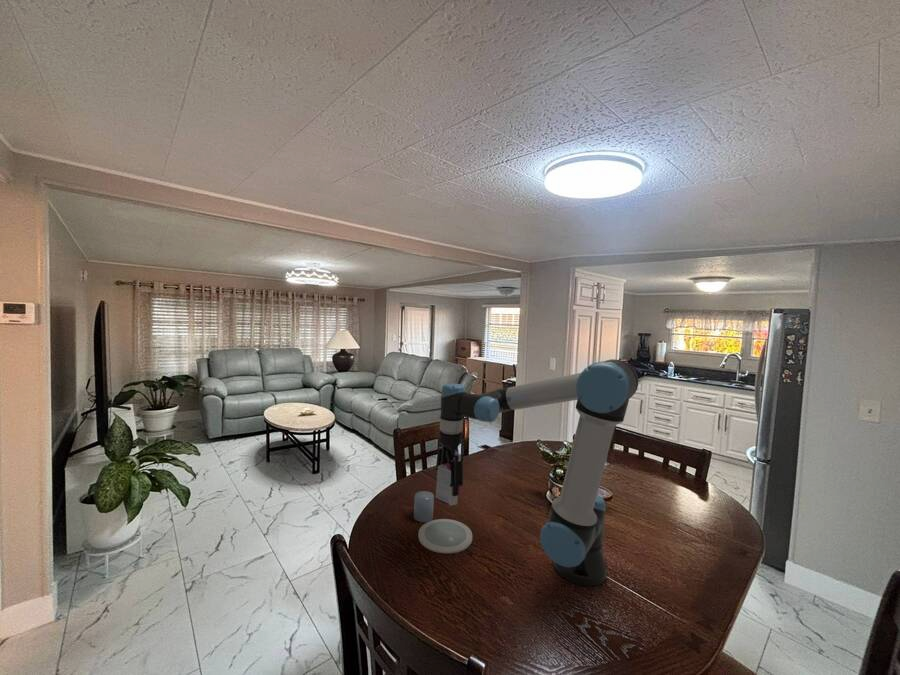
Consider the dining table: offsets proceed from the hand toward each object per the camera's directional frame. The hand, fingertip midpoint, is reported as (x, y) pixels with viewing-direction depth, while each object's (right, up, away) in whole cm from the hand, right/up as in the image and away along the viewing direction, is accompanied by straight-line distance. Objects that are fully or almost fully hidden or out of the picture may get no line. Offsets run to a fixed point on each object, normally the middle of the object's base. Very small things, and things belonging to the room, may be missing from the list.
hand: (447, 498), depth 124 cm
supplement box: (0, -1, 0) cm, 1 cm away
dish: (-1, -13, +1) cm, 13 cm away
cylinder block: (-9, -12, +12) cm, 19 cm away
